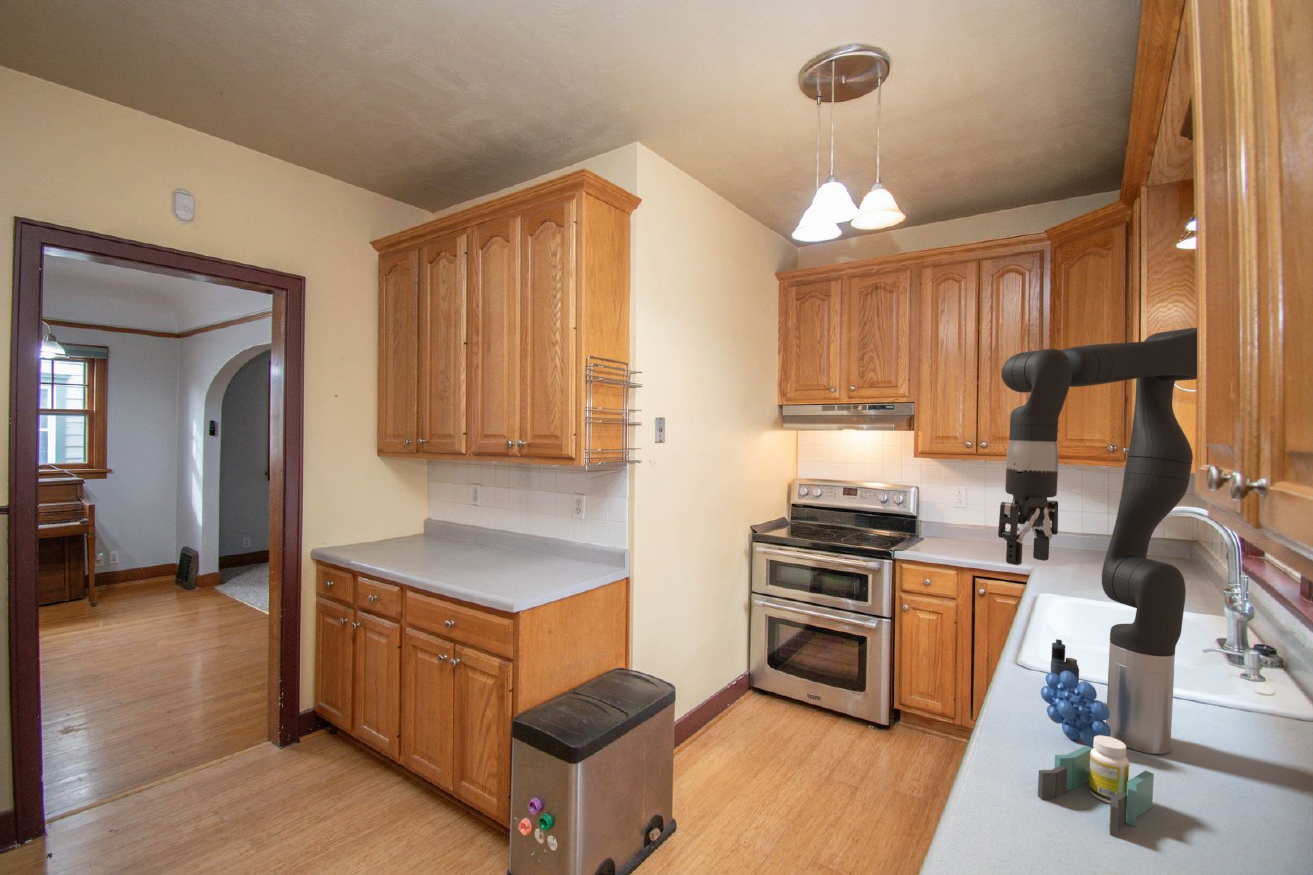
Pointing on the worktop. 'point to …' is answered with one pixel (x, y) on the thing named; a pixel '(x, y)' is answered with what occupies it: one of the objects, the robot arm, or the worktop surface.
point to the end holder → (1136, 787)
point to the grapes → (1075, 707)
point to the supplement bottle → (1108, 768)
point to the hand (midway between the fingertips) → (1027, 561)
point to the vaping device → (1062, 660)
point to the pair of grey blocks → (1055, 786)
